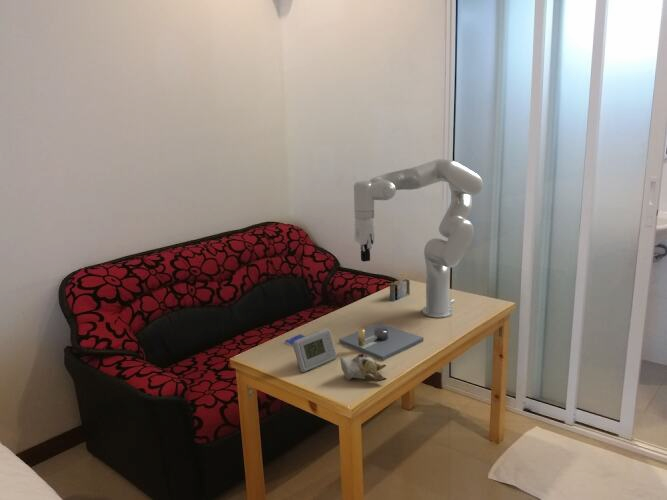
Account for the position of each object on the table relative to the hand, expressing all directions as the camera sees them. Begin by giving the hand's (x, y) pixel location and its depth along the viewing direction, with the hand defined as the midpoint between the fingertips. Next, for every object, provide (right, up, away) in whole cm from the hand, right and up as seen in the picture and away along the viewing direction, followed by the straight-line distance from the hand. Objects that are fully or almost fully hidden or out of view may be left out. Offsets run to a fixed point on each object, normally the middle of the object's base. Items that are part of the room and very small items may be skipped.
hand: (365, 260), depth 217 cm
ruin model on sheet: (+18, -18, +38) cm, 46 cm away
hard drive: (-24, -32, -8) cm, 40 cm away
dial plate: (+5, -30, -9) cm, 32 cm away
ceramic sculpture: (-3, -38, -35) cm, 52 cm away
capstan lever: (+2, -29, -12) cm, 32 cm away
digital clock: (-19, -35, -24) cm, 47 cm away
